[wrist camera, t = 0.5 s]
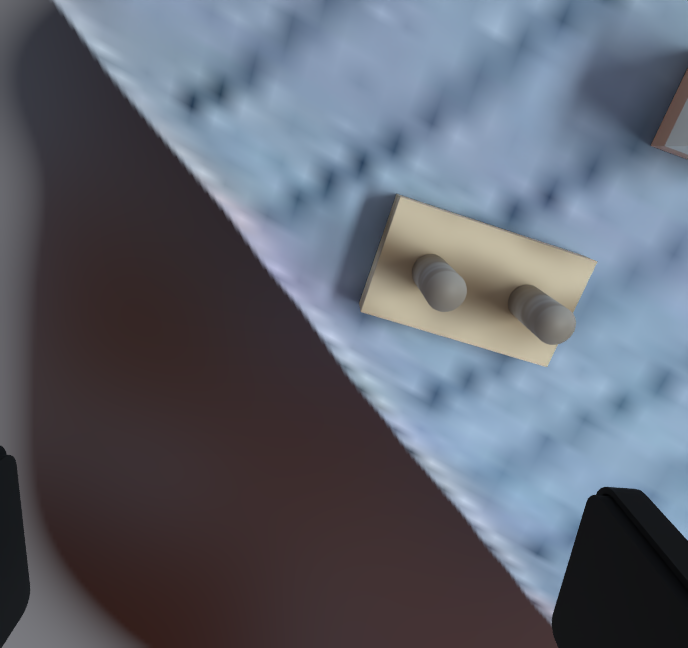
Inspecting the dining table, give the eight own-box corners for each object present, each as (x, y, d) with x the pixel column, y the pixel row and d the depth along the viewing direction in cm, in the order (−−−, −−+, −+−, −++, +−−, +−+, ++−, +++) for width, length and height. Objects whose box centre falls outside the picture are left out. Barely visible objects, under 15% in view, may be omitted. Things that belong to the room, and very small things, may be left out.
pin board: (396, 193, 35) (413, 205, 29) (583, 255, 37) (639, 280, 30) (358, 303, 38) (366, 337, 31) (536, 356, 39) (578, 399, 33)
